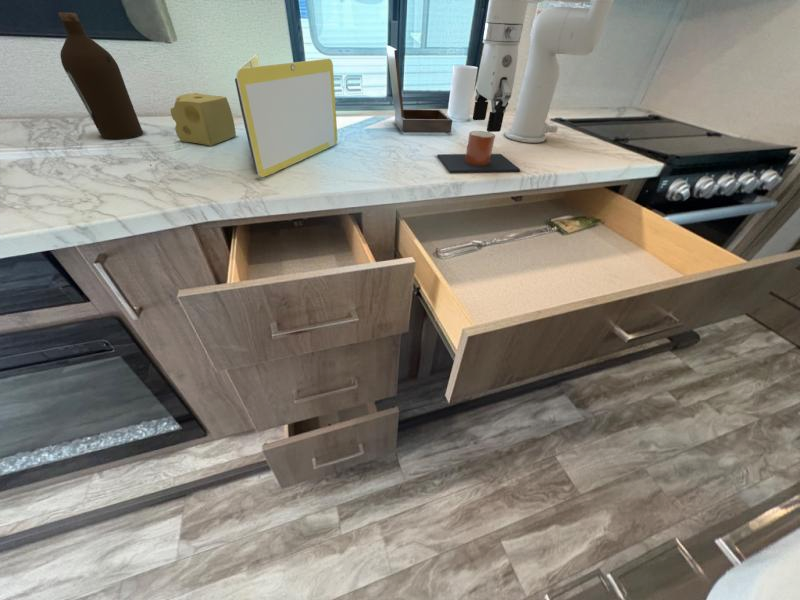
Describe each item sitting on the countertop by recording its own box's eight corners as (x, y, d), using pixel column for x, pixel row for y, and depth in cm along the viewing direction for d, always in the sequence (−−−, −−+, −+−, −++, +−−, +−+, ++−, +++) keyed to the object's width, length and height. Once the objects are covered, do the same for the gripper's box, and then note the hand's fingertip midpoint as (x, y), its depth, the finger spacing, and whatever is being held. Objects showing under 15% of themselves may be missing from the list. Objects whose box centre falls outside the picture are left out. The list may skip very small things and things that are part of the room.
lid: (389, 45, 100) (386, 46, 100) (397, 49, 89) (394, 50, 89) (396, 107, 111) (394, 107, 111) (404, 117, 100) (401, 118, 100)
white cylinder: (468, 117, 126) (476, 66, 115) (469, 122, 119) (478, 68, 109) (446, 115, 126) (453, 64, 116) (446, 120, 120) (453, 67, 109)
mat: (500, 156, 91) (501, 153, 91) (519, 171, 82) (520, 169, 82) (437, 156, 88) (437, 154, 88) (450, 172, 79) (450, 170, 79)
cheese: (179, 141, 88) (163, 97, 81) (208, 131, 96) (196, 91, 89) (212, 147, 86) (198, 102, 79) (239, 136, 94) (229, 95, 87)
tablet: (258, 135, 95) (240, 50, 83) (334, 134, 100) (328, 53, 87) (245, 181, 70) (216, 68, 57) (349, 177, 74) (343, 71, 62)
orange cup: (484, 157, 88) (489, 130, 83) (492, 165, 83) (499, 137, 79) (461, 157, 87) (466, 130, 82) (469, 165, 82) (474, 137, 78)
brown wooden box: (438, 123, 116) (440, 109, 113) (450, 135, 105) (452, 120, 103) (394, 123, 114) (395, 109, 111) (402, 135, 103) (402, 119, 100)
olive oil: (147, 128, 95) (99, 13, 79) (144, 138, 88) (92, 14, 72) (101, 131, 91) (42, 11, 75) (95, 141, 84) (28, 12, 68)
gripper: (538, 39, 63) (515, 136, 74) (502, 32, 75) (487, 115, 87) (501, 38, 62) (483, 136, 73) (471, 31, 74) (460, 116, 86)
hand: (485, 125), depth 80 cm, fingers open, 9 cm apart
